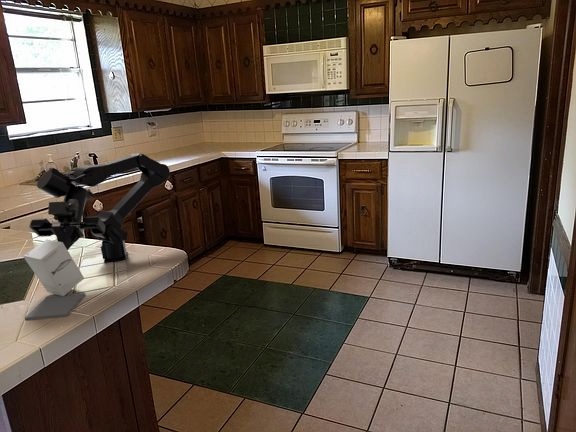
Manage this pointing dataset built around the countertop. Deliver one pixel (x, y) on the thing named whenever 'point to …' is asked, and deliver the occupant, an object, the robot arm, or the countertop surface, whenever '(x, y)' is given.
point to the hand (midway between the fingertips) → (61, 253)
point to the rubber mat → (55, 306)
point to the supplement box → (54, 267)
